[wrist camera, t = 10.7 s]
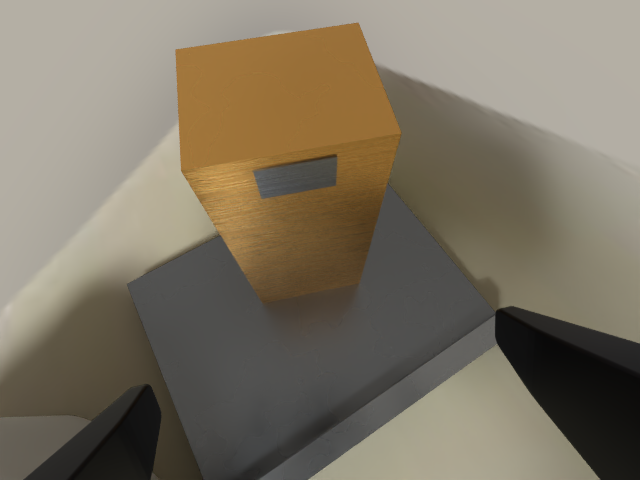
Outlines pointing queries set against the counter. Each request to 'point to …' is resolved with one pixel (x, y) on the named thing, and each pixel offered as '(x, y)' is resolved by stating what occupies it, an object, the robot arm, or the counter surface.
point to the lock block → (288, 153)
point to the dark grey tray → (307, 350)
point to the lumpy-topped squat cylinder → (34, 442)
